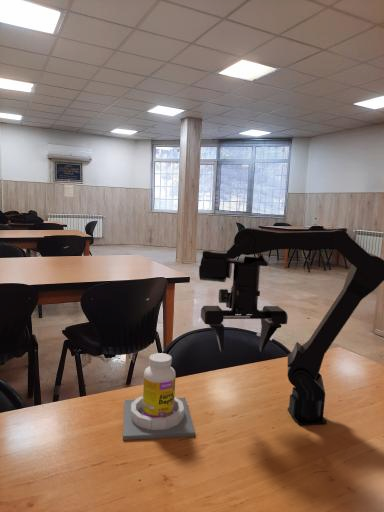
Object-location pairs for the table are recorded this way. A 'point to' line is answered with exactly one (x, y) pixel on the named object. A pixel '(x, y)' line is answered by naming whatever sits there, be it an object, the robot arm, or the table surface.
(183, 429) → the socket plate
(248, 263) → the robot arm
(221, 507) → the table surface
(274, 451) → the table surface
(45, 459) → the table surface
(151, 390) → the supplement bottle
